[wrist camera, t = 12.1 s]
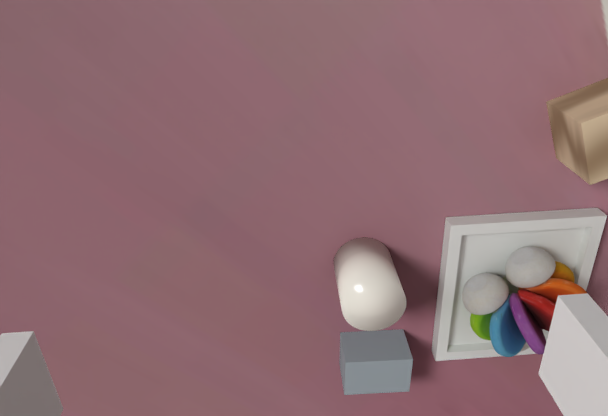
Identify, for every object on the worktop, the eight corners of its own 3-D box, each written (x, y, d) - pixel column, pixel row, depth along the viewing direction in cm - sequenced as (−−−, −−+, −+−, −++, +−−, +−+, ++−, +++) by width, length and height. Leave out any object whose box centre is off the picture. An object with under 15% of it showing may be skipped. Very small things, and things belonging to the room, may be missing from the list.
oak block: (545, 101, 39) (581, 123, 34) (612, 75, 38) (657, 94, 33) (555, 157, 41) (590, 184, 36) (618, 134, 40) (661, 158, 36)
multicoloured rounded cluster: (579, 287, 47) (628, 344, 40) (485, 340, 49) (517, 401, 43) (540, 225, 43) (587, 276, 37) (441, 285, 46) (469, 342, 39)
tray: (445, 217, 43) (450, 225, 41) (597, 207, 43) (607, 215, 42) (431, 350, 50) (435, 360, 49) (561, 341, 50) (569, 351, 49)
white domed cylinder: (333, 239, 43) (341, 281, 38) (391, 235, 43) (408, 277, 38) (333, 286, 46) (341, 333, 40) (389, 283, 46) (404, 328, 40)
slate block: (340, 331, 48) (345, 362, 45) (402, 328, 49) (413, 359, 45) (339, 362, 50) (344, 394, 47) (399, 359, 50) (409, 391, 47)
